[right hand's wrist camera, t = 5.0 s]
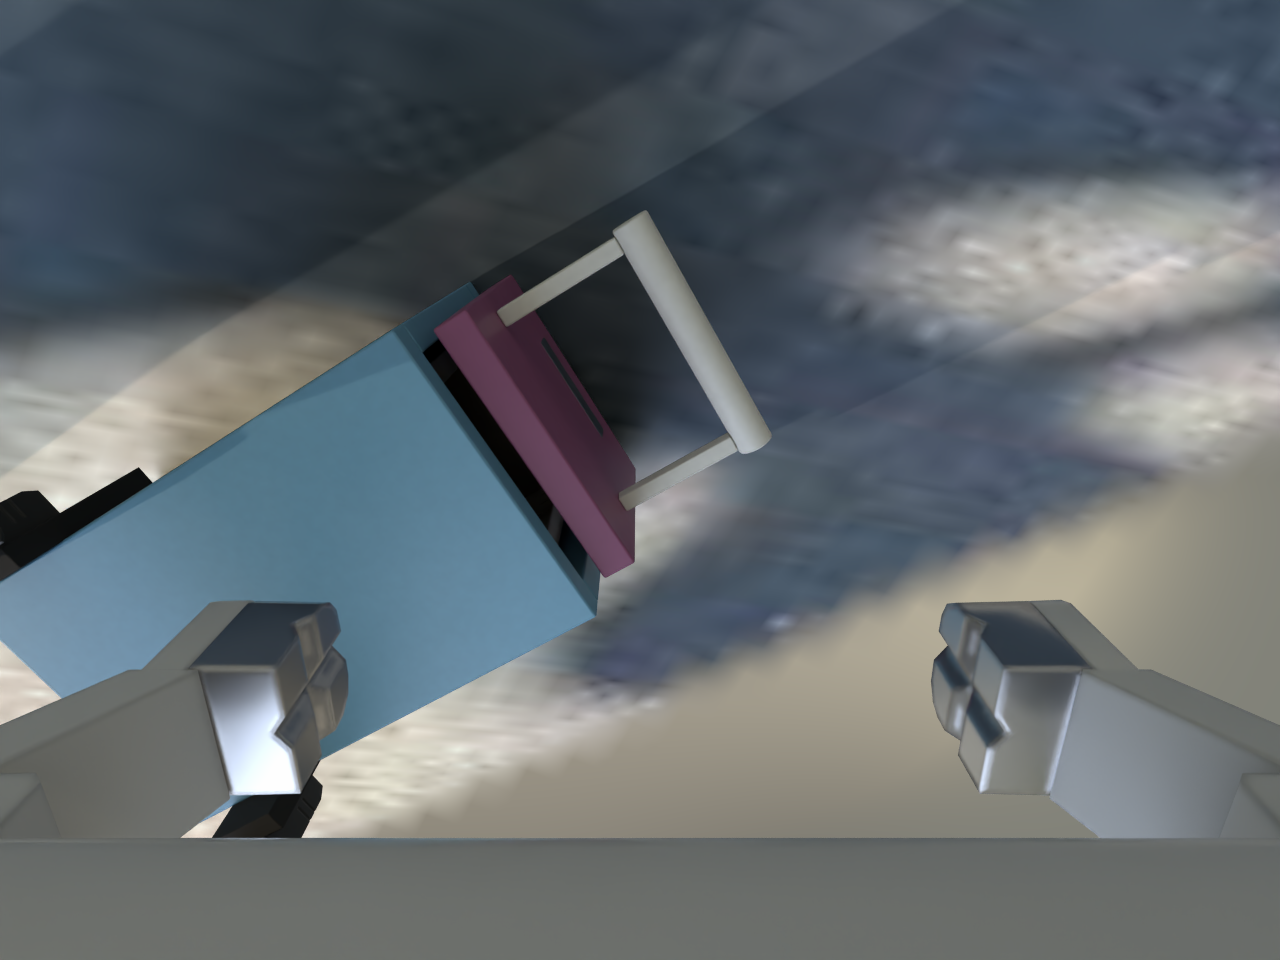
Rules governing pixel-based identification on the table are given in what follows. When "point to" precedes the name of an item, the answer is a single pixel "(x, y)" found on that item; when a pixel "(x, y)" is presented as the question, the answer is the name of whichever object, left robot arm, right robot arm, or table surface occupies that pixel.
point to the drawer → (583, 397)
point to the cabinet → (322, 544)
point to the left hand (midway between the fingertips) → (225, 608)
